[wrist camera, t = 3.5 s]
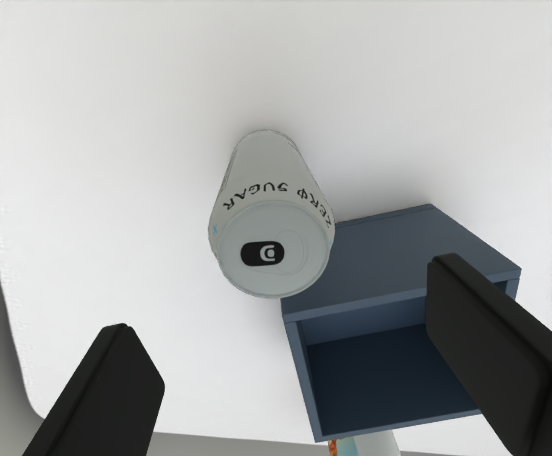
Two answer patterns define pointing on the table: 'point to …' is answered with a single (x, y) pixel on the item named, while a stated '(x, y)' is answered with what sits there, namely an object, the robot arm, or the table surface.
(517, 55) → the table surface
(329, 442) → the milk bottle
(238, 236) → the energy drink can
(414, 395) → the open storage box
